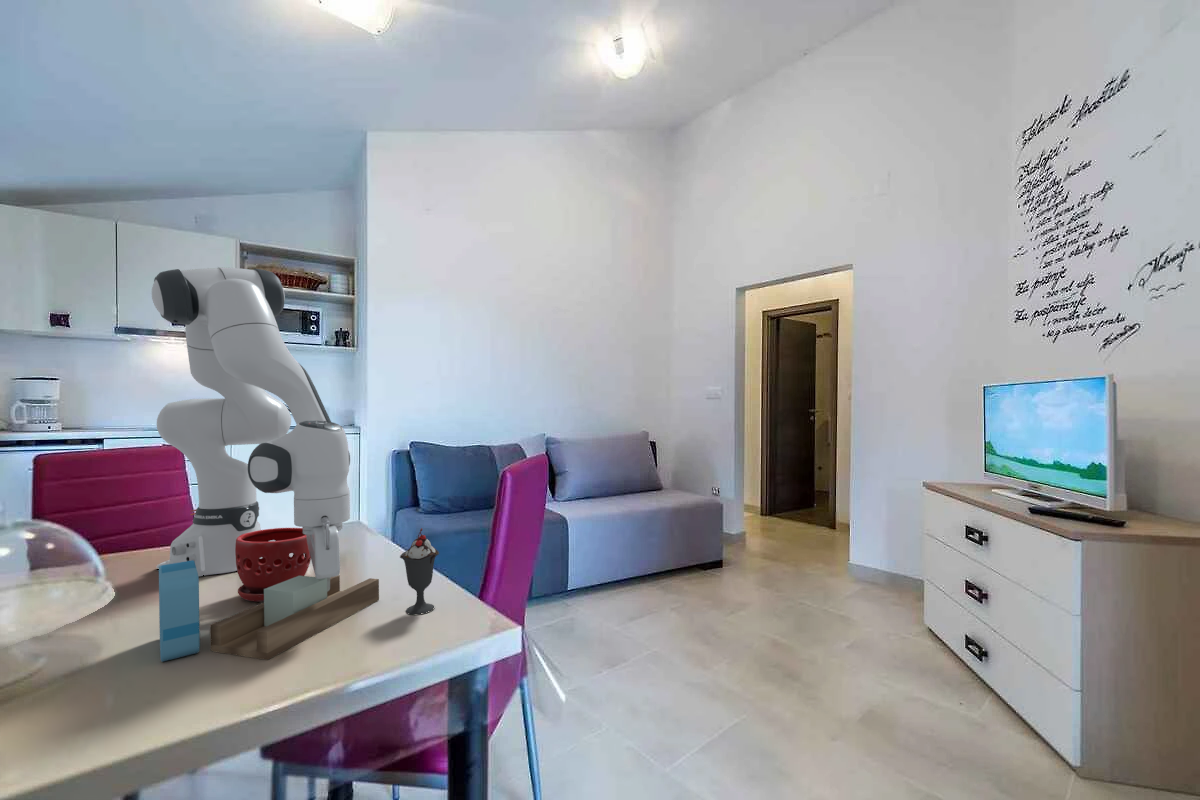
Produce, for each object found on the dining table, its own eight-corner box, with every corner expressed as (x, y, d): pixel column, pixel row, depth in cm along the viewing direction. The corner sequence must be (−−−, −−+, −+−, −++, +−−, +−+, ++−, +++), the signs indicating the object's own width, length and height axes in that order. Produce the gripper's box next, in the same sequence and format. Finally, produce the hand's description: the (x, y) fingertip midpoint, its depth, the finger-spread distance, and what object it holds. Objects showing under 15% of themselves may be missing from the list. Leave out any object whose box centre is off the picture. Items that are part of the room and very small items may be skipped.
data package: (199, 655, 80) (198, 575, 80) (160, 665, 77) (159, 582, 77) (194, 630, 89) (193, 558, 89) (159, 638, 86) (158, 563, 86)
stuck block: (264, 626, 87) (263, 589, 87) (299, 609, 94) (299, 575, 94) (293, 629, 85) (293, 592, 85) (327, 612, 92) (327, 578, 92)
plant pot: (256, 611, 96) (255, 545, 96) (223, 598, 103) (222, 536, 103) (326, 589, 107) (326, 530, 107) (292, 578, 114) (291, 522, 114)
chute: (210, 651, 81) (210, 624, 81) (331, 595, 104) (331, 574, 104) (267, 659, 78) (267, 632, 78) (379, 600, 101) (378, 579, 101)
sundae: (419, 619, 91) (418, 532, 91) (392, 612, 95) (391, 528, 95) (447, 606, 97) (446, 524, 97) (421, 600, 100) (420, 520, 100)
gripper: (349, 520, 88) (350, 604, 87) (336, 501, 105) (337, 571, 105) (305, 525, 84) (306, 612, 84) (299, 505, 102) (301, 577, 102)
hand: (323, 589), depth 95 cm, fingers closed
